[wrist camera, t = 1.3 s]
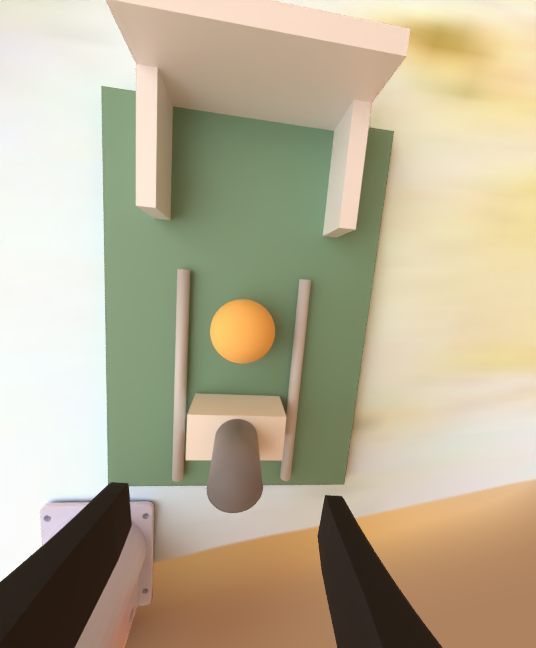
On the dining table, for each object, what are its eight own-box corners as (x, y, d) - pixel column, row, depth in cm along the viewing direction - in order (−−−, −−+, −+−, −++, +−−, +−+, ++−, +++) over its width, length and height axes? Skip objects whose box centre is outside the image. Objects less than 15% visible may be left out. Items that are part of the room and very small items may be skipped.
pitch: (339, 475, 22) (347, 492, 21) (114, 476, 20) (102, 494, 19) (385, 139, 18) (401, 124, 17) (109, 97, 16) (93, 75, 14)
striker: (276, 433, 20) (294, 515, 13) (194, 432, 19) (168, 518, 12) (279, 395, 19) (301, 459, 12) (195, 393, 19) (169, 459, 12)
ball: (268, 354, 19) (276, 374, 15) (212, 352, 19) (204, 371, 15) (273, 299, 18) (282, 304, 14) (215, 294, 18) (207, 299, 14)
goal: (336, 237, 18) (383, 217, 12) (154, 218, 17) (107, 185, 11) (351, 116, 17) (410, 28, 11) (155, 84, 16) (104, -34, 10)
